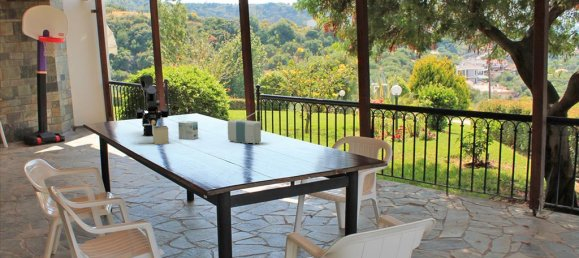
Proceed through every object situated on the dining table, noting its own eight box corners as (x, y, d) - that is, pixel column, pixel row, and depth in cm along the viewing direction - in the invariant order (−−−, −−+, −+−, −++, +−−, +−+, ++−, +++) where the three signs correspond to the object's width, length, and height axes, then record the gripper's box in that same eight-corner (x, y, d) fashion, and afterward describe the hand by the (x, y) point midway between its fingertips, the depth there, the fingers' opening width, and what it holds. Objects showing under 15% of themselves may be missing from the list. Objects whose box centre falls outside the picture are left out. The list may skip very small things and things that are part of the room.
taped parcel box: (227, 141, 341) (226, 109, 338) (236, 140, 347) (235, 108, 344) (254, 145, 329) (253, 111, 326) (262, 143, 336) (262, 110, 333)
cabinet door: (154, 133, 340) (154, 118, 339) (156, 135, 332) (155, 120, 331) (150, 133, 340) (150, 118, 338) (152, 136, 331) (151, 120, 330)
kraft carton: (166, 140, 344) (166, 125, 343) (168, 143, 335) (168, 128, 333) (153, 141, 341) (152, 126, 340) (155, 144, 332) (154, 128, 331)
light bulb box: (198, 138, 355) (198, 121, 353) (193, 139, 348) (192, 122, 347) (183, 137, 358) (183, 120, 356) (178, 138, 352) (177, 122, 350)
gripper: (135, 96, 331) (137, 117, 322) (167, 95, 337) (170, 115, 328) (135, 108, 339) (137, 128, 331) (166, 106, 345) (169, 127, 337)
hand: (153, 124), depth 331 cm, fingers closed on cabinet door, 2 cm apart
